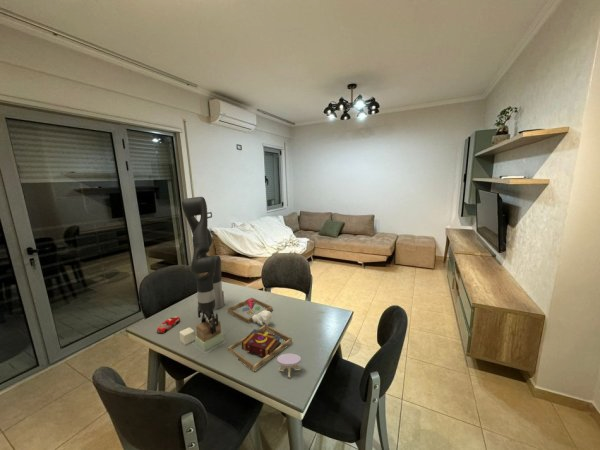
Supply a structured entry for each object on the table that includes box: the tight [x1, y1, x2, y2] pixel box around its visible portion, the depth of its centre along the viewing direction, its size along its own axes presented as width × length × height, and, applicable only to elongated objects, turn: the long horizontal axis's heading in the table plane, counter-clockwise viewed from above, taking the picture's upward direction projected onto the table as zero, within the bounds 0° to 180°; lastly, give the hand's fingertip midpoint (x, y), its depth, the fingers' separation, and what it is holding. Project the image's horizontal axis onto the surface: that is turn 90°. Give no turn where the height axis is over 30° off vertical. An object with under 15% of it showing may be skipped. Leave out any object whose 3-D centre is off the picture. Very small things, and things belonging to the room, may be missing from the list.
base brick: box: [194, 331, 224, 351], centre depth 117 cm, size 10×8×4 cm
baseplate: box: [191, 337, 228, 355], centre depth 118 cm, size 12×12×1 cm
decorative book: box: [241, 329, 282, 358], centre depth 115 cm, size 11×16×5 cm
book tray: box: [227, 324, 293, 372], centre depth 115 cm, size 24×19×2 cm
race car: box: [156, 316, 181, 334], centre depth 132 cm, size 13×5×4 cm, turn 161°
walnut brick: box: [195, 319, 222, 342], centre depth 117 cm, size 9×6×6 cm, turn 141°
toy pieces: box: [242, 298, 261, 315], centre depth 151 cm, size 12×11×4 cm
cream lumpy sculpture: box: [251, 309, 273, 326], centre depth 134 cm, size 6×8×12 cm
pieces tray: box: [227, 297, 273, 325], centre depth 148 cm, size 19×20×2 cm
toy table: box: [276, 352, 302, 378], centre depth 101 cm, size 10×9×6 cm
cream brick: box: [179, 326, 196, 345], centre depth 119 cm, size 5×5×6 cm
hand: (208, 329), depth 117 cm, fingers open, 8 cm apart
